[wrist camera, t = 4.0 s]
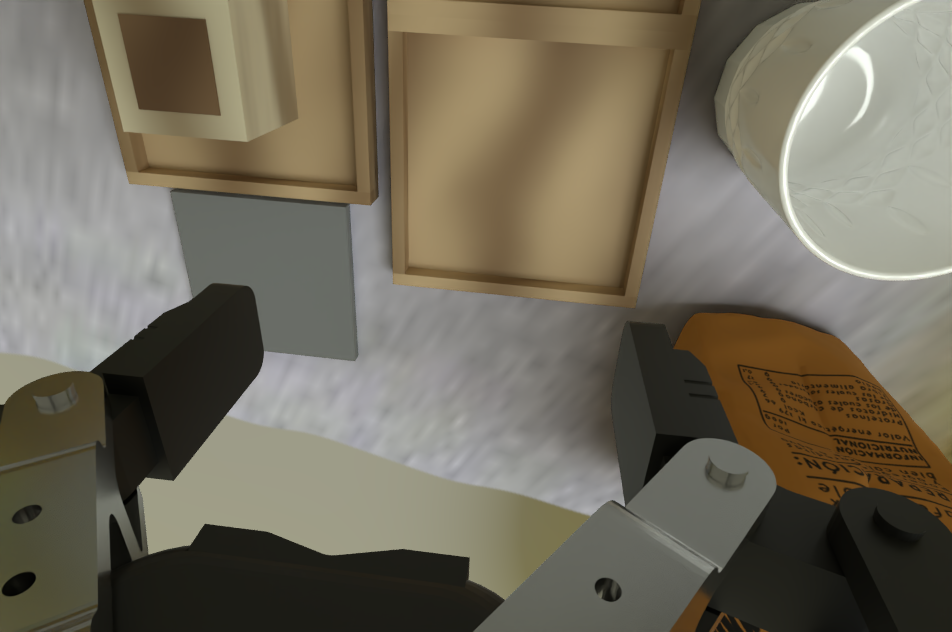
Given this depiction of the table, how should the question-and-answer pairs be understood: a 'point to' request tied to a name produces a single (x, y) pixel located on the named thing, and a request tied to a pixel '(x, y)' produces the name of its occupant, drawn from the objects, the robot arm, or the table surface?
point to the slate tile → (277, 264)
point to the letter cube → (200, 66)
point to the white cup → (850, 130)
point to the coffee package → (814, 415)
